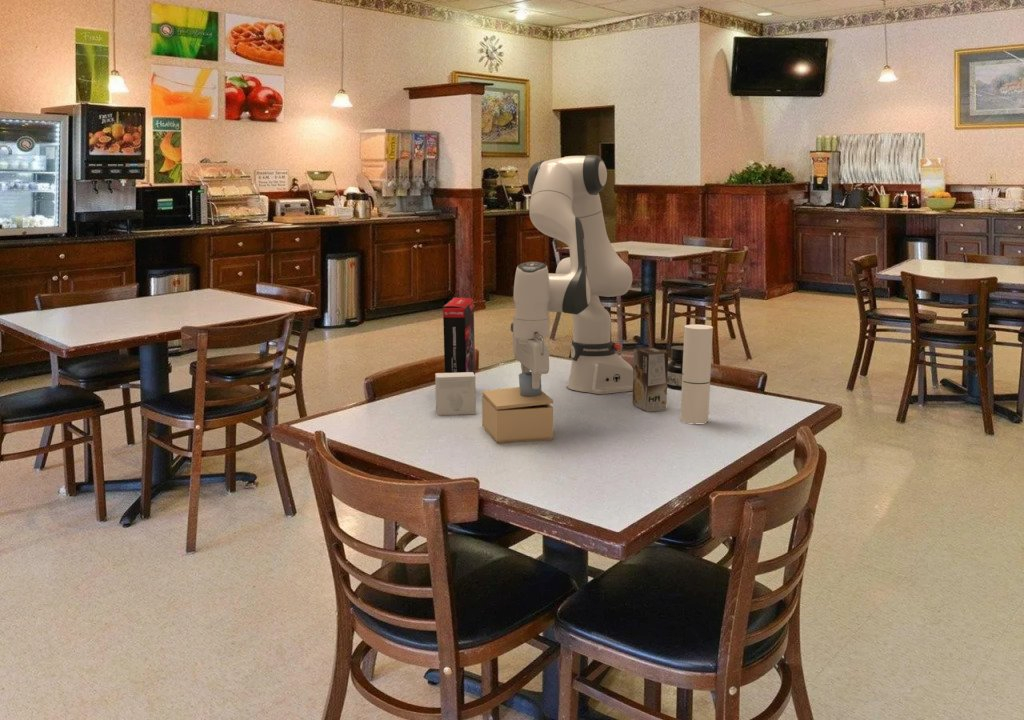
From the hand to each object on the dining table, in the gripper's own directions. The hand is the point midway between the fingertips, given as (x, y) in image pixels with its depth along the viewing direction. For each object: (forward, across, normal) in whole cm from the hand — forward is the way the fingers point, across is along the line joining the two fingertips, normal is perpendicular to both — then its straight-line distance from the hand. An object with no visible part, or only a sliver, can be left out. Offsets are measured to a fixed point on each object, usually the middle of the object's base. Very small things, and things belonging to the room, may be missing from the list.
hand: (530, 384), depth 231 cm
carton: (+12, 0, +4) cm, 13 cm away
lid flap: (+3, 0, +4) cm, 5 cm away
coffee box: (+12, +16, -38) cm, 43 cm away
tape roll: (+2, 0, 0) cm, 2 cm away
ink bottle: (+12, +37, -58) cm, 69 cm away
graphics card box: (+12, +42, +10) cm, 45 cm away
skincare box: (+12, +23, +14) cm, 30 cm away
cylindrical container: (+12, 0, -44) cm, 46 cm away
